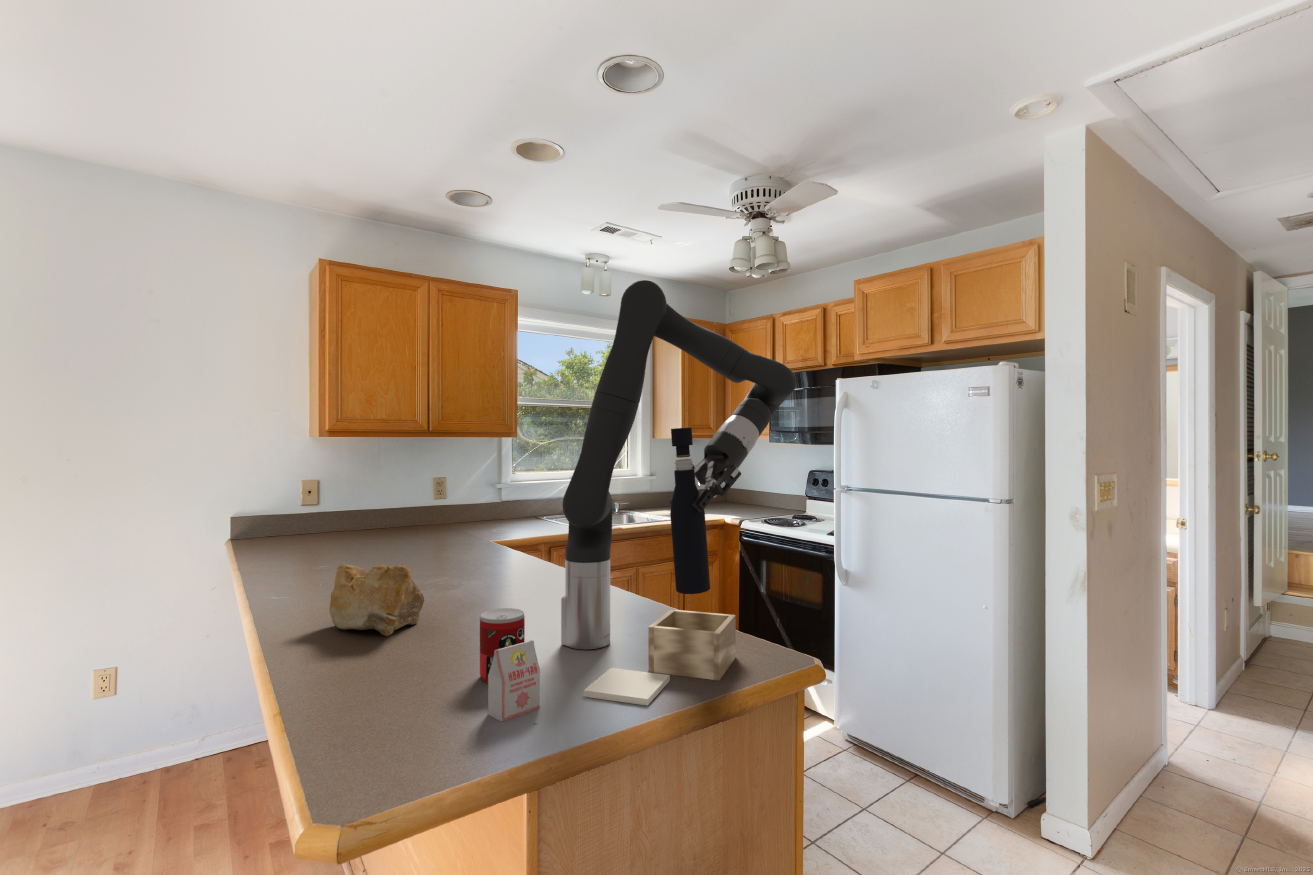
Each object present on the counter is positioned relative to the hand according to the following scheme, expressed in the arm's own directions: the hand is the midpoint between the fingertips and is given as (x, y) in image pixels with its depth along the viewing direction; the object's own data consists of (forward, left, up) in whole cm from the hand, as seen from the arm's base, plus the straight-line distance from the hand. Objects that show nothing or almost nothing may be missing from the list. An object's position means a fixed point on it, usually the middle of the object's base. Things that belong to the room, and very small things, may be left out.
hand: (684, 507), depth 116 cm
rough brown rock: (-71, +3, -29) cm, 77 cm away
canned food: (-29, -15, -29) cm, 44 cm away
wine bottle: (+1, +2, -16) cm, 16 cm away
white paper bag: (-19, -27, -29) cm, 44 cm away
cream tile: (-6, -13, -29) cm, 32 cm away
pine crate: (+1, +2, -29) cm, 29 cm away
